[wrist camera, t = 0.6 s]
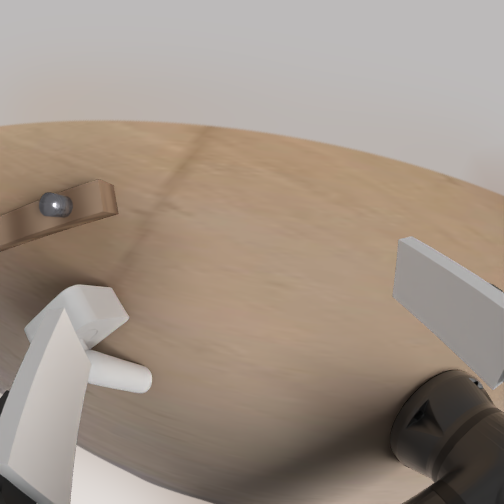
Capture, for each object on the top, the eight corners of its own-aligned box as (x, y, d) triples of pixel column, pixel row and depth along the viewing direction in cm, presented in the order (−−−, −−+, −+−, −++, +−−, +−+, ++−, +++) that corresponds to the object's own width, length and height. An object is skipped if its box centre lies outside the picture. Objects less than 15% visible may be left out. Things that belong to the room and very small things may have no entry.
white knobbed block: (125, 404, 30) (76, 435, 20) (77, 327, 32) (18, 332, 22) (178, 370, 30) (139, 398, 20) (124, 288, 32) (70, 282, 22)
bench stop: (113, 185, 29) (84, 173, 22) (118, 213, 29) (89, 209, 22) (-17, 233, 28) (-54, 233, 21) (-14, 256, 28) (-51, 261, 21)
